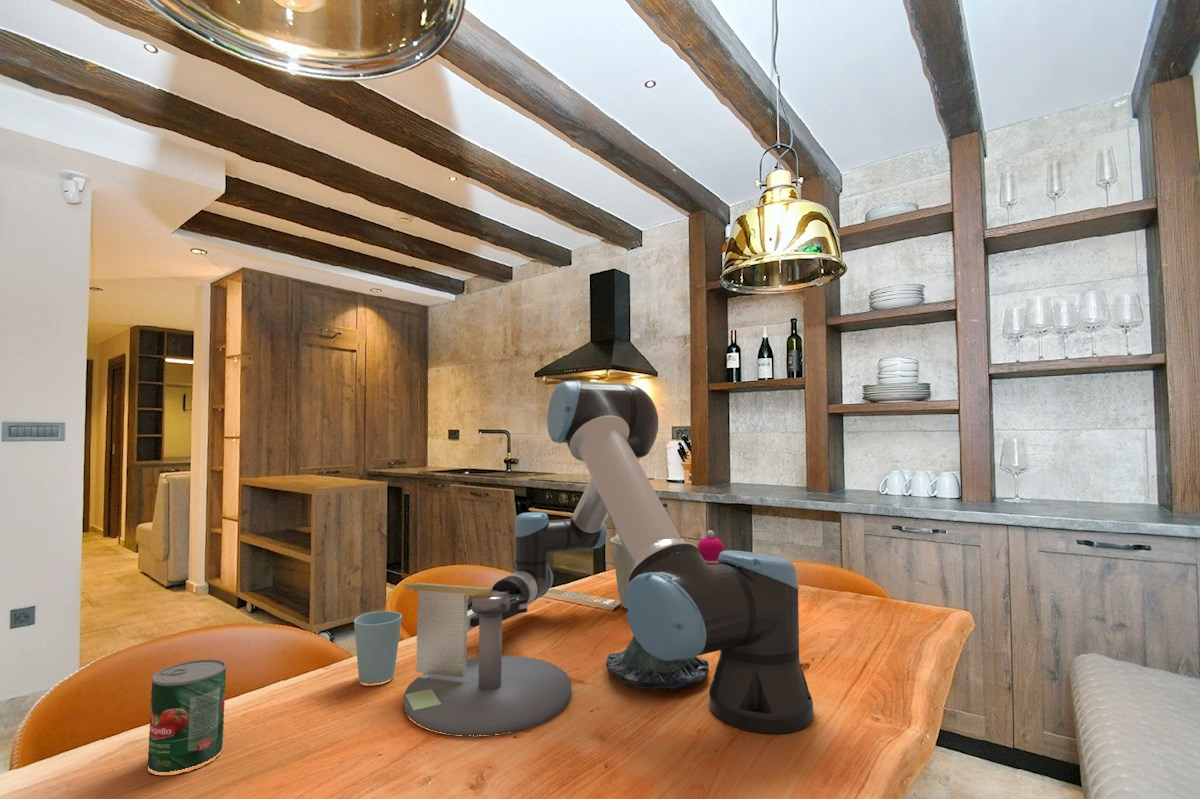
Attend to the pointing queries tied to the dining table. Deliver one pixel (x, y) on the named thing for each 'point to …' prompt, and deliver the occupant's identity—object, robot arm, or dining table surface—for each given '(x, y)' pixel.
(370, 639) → the cup
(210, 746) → the canned tomato
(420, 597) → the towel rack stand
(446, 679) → the stand
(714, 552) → the pepper mill
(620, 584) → the canister
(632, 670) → the tree stump
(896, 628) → the dining table surface
